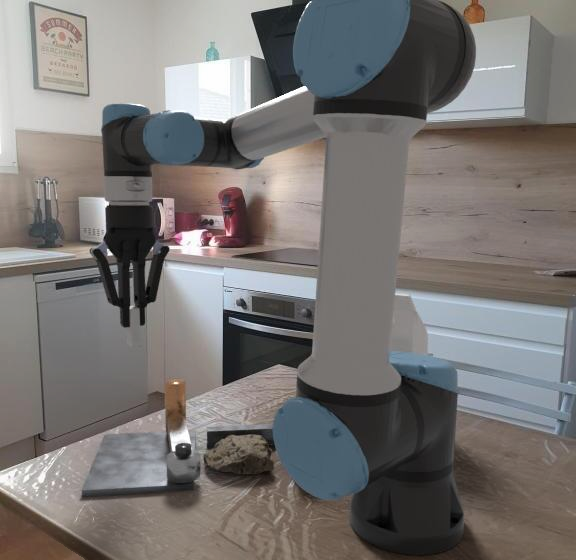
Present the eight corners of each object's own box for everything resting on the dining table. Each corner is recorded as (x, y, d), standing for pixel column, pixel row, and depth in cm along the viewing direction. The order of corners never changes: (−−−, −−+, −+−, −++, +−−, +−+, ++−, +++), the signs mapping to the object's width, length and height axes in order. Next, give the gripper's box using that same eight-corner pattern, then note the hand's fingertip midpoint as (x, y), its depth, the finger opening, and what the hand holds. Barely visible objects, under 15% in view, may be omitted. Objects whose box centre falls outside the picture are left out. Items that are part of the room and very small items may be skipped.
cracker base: (313, 483, 90) (313, 439, 89) (81, 496, 85) (79, 451, 84) (293, 431, 110) (294, 394, 109) (104, 439, 105) (103, 402, 104)
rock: (204, 452, 101) (204, 428, 100) (269, 449, 102) (269, 426, 101) (202, 482, 91) (201, 456, 90) (274, 479, 92) (274, 453, 91)
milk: (427, 426, 112) (434, 292, 108) (411, 449, 102) (417, 302, 98) (368, 415, 118) (372, 286, 114) (346, 436, 108) (350, 295, 104)
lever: (202, 481, 87) (201, 423, 86) (167, 484, 86) (166, 426, 85) (189, 425, 108) (188, 378, 106) (161, 428, 106) (160, 380, 105)
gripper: (94, 204, 89) (100, 356, 92) (175, 204, 96) (178, 345, 99) (82, 203, 95) (88, 345, 99) (159, 203, 102) (162, 336, 106)
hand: (133, 345), depth 99 cm, fingers closed
